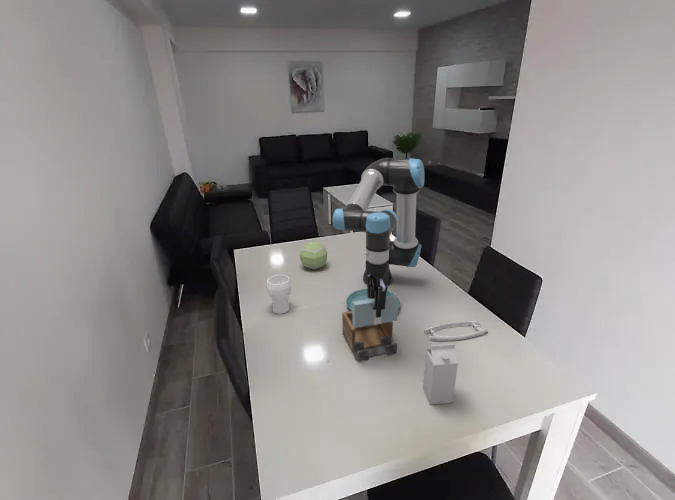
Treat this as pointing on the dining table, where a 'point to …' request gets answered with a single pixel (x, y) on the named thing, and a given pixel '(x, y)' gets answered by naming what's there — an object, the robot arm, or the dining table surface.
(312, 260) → the decorative sphere
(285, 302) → the cup
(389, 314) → the door
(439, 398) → the milk carton
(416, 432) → the dining table surface
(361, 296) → the saucer
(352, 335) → the cabinet
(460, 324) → the door handle
